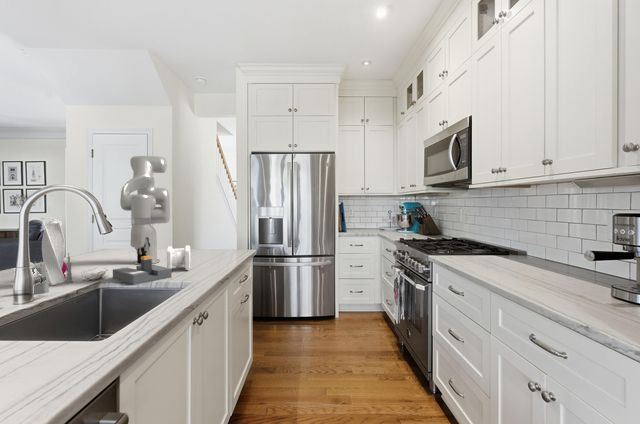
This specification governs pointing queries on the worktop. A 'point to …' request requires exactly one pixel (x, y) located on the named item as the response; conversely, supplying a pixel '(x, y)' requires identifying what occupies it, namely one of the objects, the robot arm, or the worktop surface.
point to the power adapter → (43, 286)
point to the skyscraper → (55, 253)
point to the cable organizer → (178, 257)
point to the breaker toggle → (146, 264)
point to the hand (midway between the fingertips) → (142, 263)
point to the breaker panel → (141, 274)
